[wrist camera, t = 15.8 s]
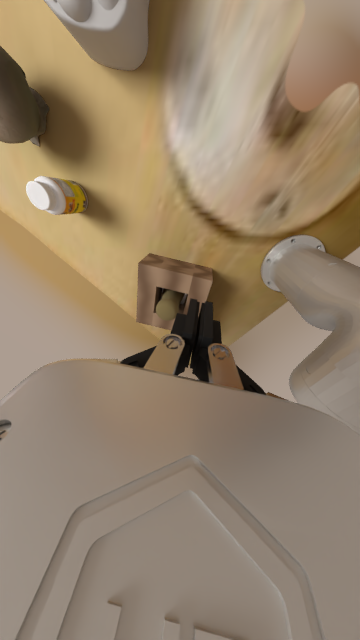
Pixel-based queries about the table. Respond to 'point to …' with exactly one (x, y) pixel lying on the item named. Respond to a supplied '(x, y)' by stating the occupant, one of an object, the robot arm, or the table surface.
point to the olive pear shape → (169, 304)
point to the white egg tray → (107, 29)
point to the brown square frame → (169, 286)
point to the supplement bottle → (57, 195)
